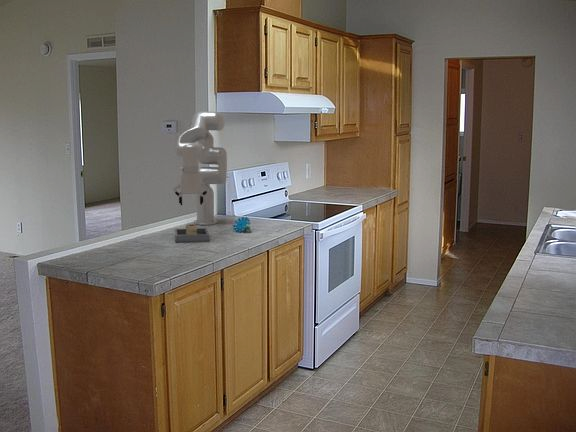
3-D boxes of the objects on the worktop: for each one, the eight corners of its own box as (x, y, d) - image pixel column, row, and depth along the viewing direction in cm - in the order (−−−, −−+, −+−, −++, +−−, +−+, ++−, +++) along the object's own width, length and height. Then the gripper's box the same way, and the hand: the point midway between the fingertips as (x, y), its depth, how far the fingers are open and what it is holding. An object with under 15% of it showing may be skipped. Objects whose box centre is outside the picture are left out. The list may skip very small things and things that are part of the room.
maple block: (186, 236, 310) (185, 224, 308) (196, 235, 311) (196, 223, 309) (186, 238, 305) (186, 226, 304) (196, 238, 306) (196, 225, 305)
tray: (174, 235, 314) (174, 229, 313) (206, 234, 317) (206, 228, 316) (175, 242, 298) (175, 235, 298) (209, 241, 302) (209, 234, 301)
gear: (228, 227, 327) (240, 213, 330) (234, 234, 331) (245, 220, 334) (242, 234, 320) (253, 219, 323) (247, 240, 324) (258, 225, 327)
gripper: (172, 171, 296) (173, 206, 300) (209, 170, 300) (209, 205, 303) (172, 169, 303) (173, 203, 307) (207, 168, 307) (208, 202, 310)
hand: (191, 204), depth 305 cm, fingers open, 9 cm apart
